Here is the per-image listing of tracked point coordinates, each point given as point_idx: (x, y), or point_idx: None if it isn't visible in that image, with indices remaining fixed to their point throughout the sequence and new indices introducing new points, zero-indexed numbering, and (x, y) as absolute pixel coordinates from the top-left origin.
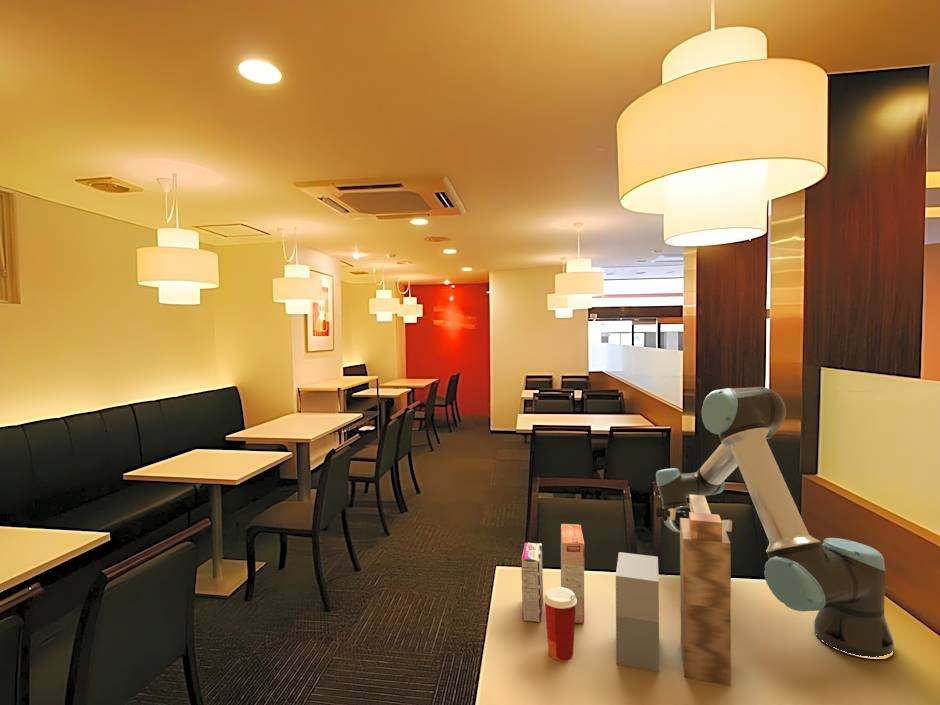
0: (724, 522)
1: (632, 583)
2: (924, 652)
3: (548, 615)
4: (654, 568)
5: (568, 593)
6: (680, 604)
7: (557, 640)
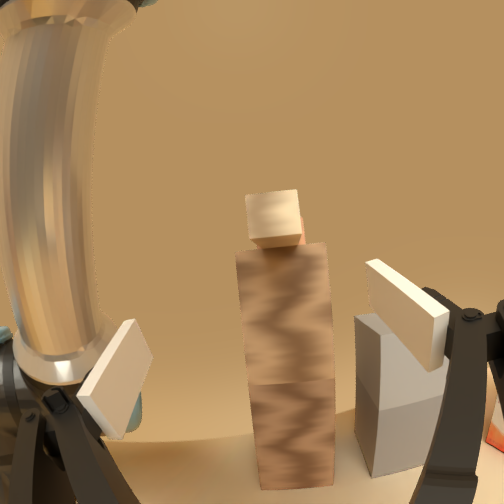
0: (117, 370)
1: None
2: None
3: None
4: (370, 322)
5: None
6: (334, 429)
7: None
